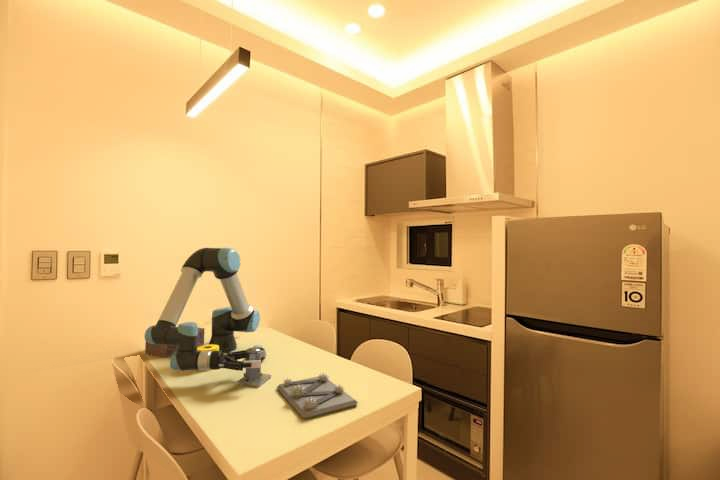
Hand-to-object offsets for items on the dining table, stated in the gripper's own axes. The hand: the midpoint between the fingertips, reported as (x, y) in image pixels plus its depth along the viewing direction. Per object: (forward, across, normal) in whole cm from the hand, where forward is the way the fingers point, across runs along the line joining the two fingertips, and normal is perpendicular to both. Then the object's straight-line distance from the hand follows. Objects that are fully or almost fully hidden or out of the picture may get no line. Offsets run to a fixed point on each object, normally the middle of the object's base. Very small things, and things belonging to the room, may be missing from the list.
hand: (262, 358), depth 145 cm
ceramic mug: (-8, -27, -10) cm, 30 cm away
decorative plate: (+23, +18, -10) cm, 31 cm away
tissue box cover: (-56, -51, -10) cm, 76 cm away
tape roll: (-29, -20, -10) cm, 37 cm away
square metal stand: (-3, 0, -10) cm, 10 cm away
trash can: (-4, 0, -8) cm, 9 cm away
